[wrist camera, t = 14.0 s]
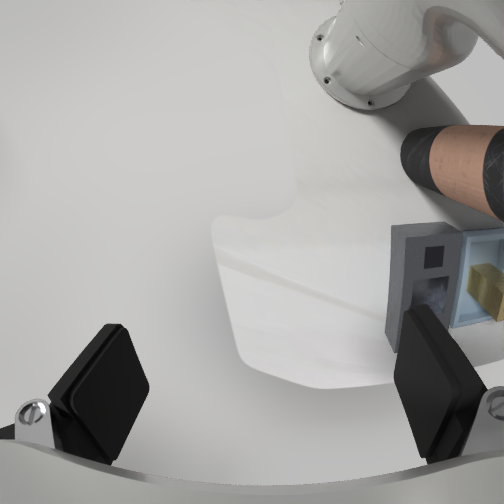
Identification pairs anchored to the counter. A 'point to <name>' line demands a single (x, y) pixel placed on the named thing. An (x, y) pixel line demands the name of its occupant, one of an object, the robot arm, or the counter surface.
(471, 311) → the parts tray
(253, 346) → the counter surface
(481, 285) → the brushed brass bar
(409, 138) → the travel mug
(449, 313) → the grey slotted block
